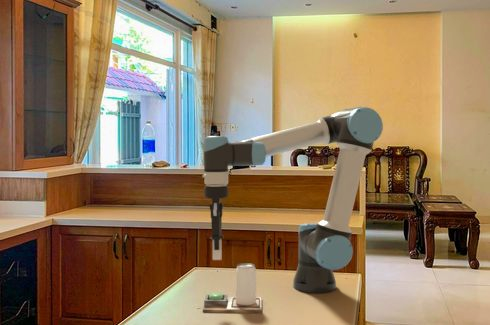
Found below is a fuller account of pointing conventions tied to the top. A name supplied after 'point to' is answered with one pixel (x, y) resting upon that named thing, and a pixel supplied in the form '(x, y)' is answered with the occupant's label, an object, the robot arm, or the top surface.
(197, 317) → the top surface
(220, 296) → the button
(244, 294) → the can
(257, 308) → the tan rectangular board
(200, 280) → the top surface
